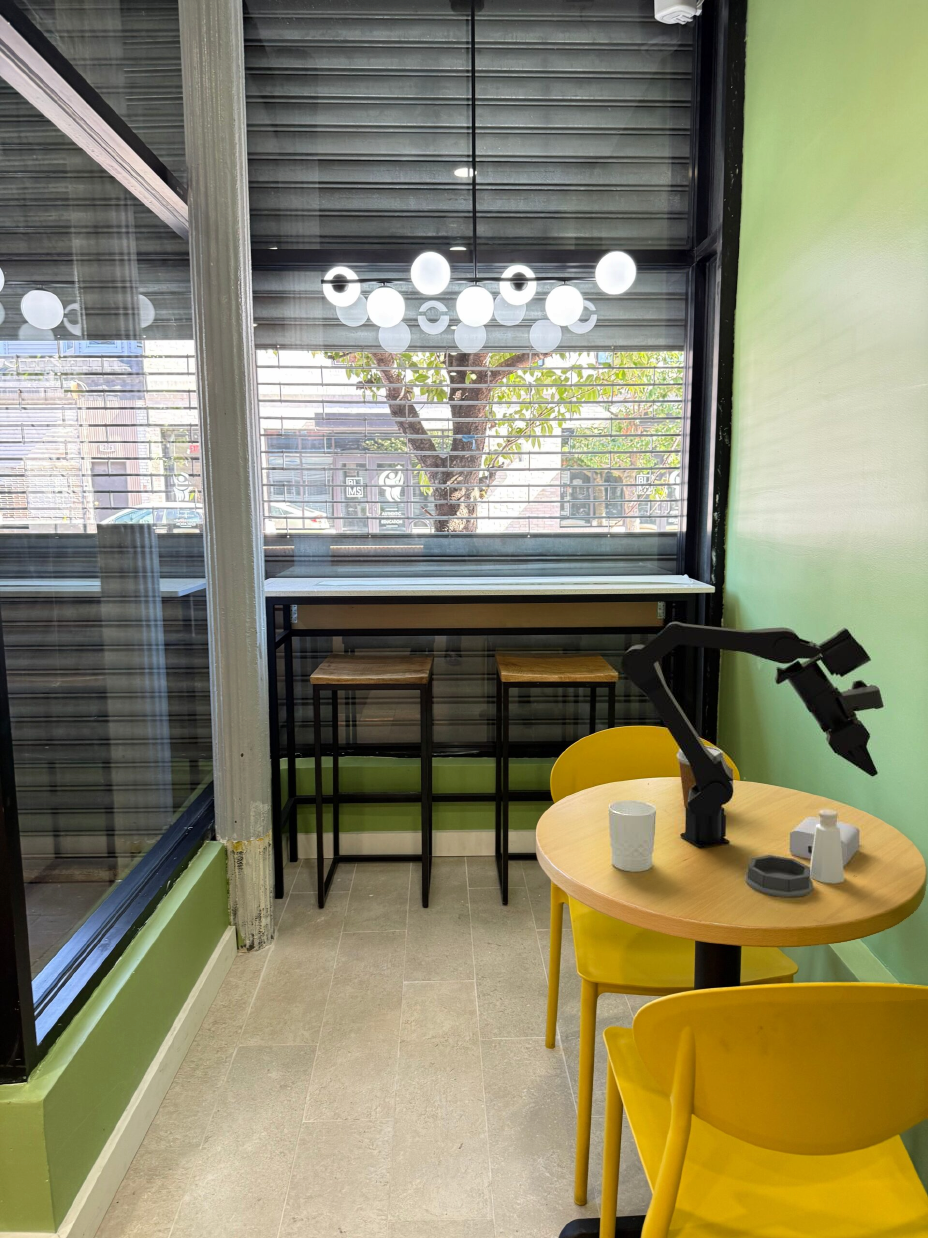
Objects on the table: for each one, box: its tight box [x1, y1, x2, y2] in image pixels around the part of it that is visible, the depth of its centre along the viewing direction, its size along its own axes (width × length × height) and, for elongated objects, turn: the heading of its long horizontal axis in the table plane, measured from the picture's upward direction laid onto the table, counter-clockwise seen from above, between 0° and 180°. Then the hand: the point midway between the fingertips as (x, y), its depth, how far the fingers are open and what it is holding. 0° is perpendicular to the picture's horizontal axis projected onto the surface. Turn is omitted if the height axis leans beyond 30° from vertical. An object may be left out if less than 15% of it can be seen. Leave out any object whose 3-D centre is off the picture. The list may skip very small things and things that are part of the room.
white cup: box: [608, 799, 657, 873], centre depth 136 cm, size 8×8×10 cm
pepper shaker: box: [809, 809, 845, 885], centre depth 130 cm, size 5×5×11 cm
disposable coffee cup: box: [676, 745, 726, 809], centre depth 165 cm, size 10×10×12 cm
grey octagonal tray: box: [745, 854, 814, 899], centre depth 128 cm, size 10×10×3 cm
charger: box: [789, 816, 860, 867], centre depth 143 cm, size 5×9×15 cm
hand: (870, 767), depth 137 cm, fingers open, 9 cm apart
